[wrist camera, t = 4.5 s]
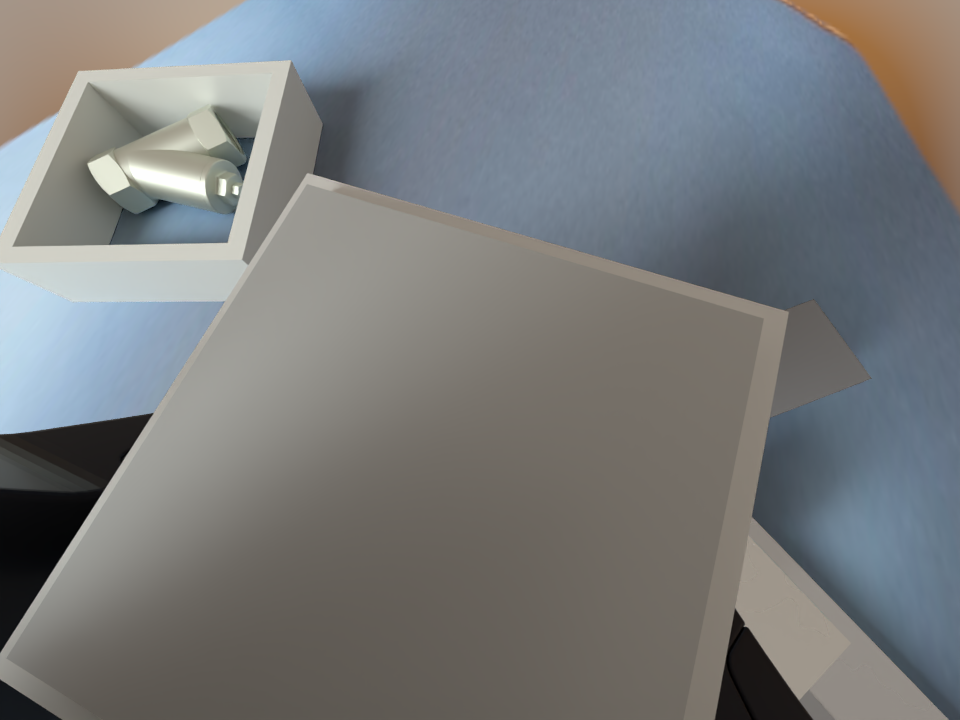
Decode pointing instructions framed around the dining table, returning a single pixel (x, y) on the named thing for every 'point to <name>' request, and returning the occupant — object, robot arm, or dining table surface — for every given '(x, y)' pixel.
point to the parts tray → (94, 214)
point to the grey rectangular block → (813, 360)
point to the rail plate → (858, 662)
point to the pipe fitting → (176, 166)
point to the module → (422, 490)
